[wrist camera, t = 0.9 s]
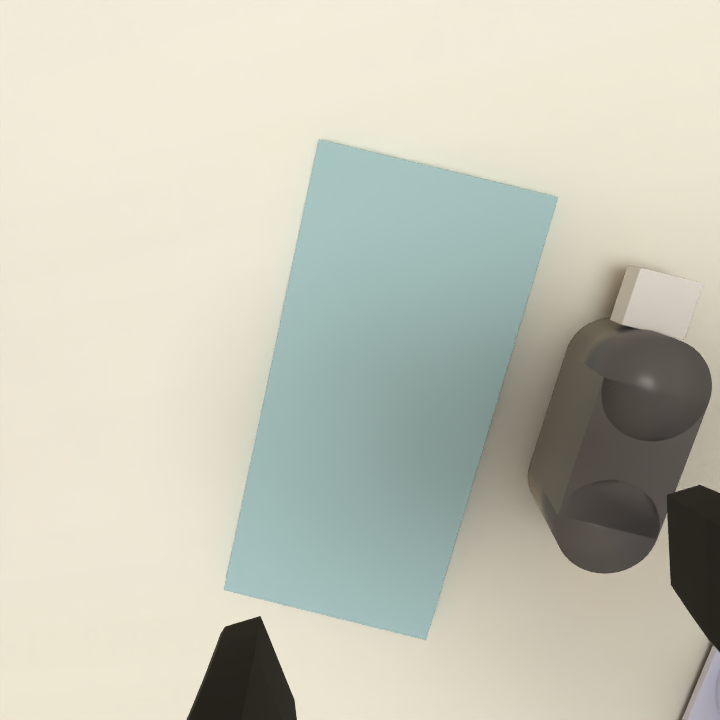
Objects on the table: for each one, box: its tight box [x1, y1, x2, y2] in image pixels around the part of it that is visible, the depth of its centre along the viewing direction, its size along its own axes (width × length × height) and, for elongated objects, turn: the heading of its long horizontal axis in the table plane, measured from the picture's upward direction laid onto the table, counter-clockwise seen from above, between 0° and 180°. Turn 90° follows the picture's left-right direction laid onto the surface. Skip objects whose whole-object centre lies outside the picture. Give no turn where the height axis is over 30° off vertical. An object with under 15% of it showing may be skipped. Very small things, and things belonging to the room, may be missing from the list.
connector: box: [528, 266, 712, 573], centre depth 22 cm, size 4×10×4 cm, turn 167°
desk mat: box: [224, 139, 558, 640], centre depth 25 cm, size 9×19×1 cm, turn 166°
